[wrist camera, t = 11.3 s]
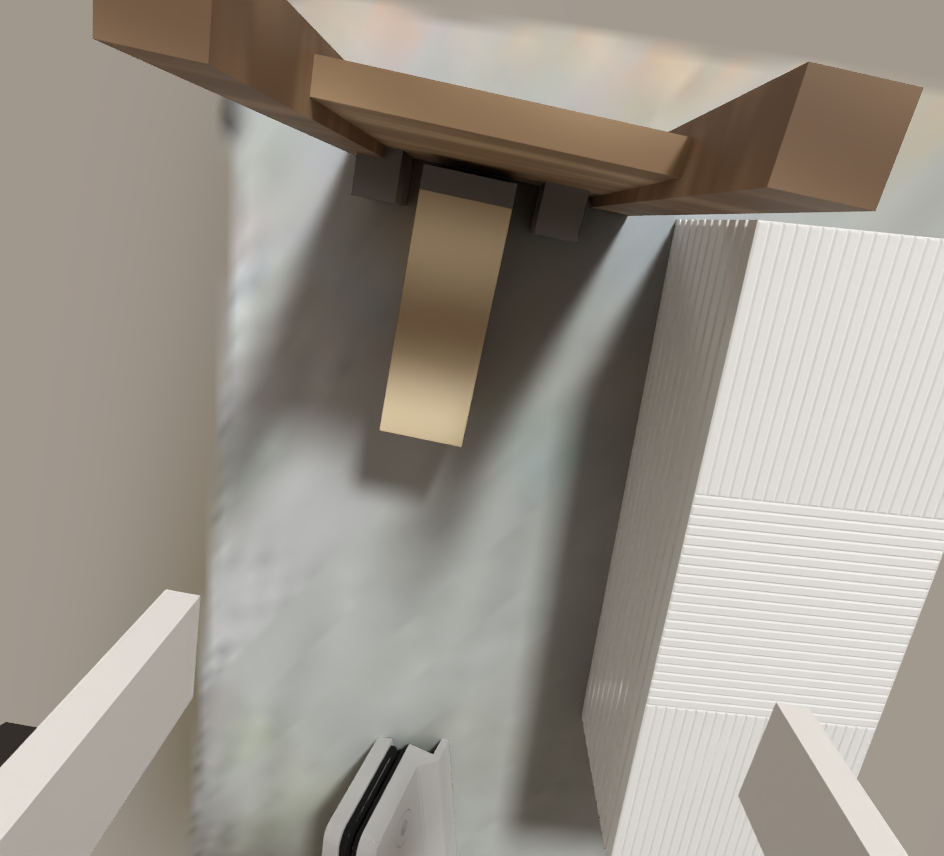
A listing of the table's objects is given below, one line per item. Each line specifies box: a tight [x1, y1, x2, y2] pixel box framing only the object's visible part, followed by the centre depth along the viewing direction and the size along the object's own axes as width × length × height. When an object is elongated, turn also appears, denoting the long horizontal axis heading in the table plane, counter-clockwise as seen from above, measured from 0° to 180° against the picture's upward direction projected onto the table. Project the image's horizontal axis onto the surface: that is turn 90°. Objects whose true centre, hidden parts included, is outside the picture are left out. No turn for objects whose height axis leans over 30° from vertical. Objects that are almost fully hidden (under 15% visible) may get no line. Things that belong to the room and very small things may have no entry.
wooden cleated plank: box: [93, 0, 923, 243], centre depth 21 cm, size 4×14×22 cm, turn 78°
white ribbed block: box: [581, 220, 944, 856], centre depth 32 cm, size 32×11×11 cm, turn 175°
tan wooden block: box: [380, 164, 518, 447], centre depth 31 cm, size 12×4×6 cm, turn 168°
